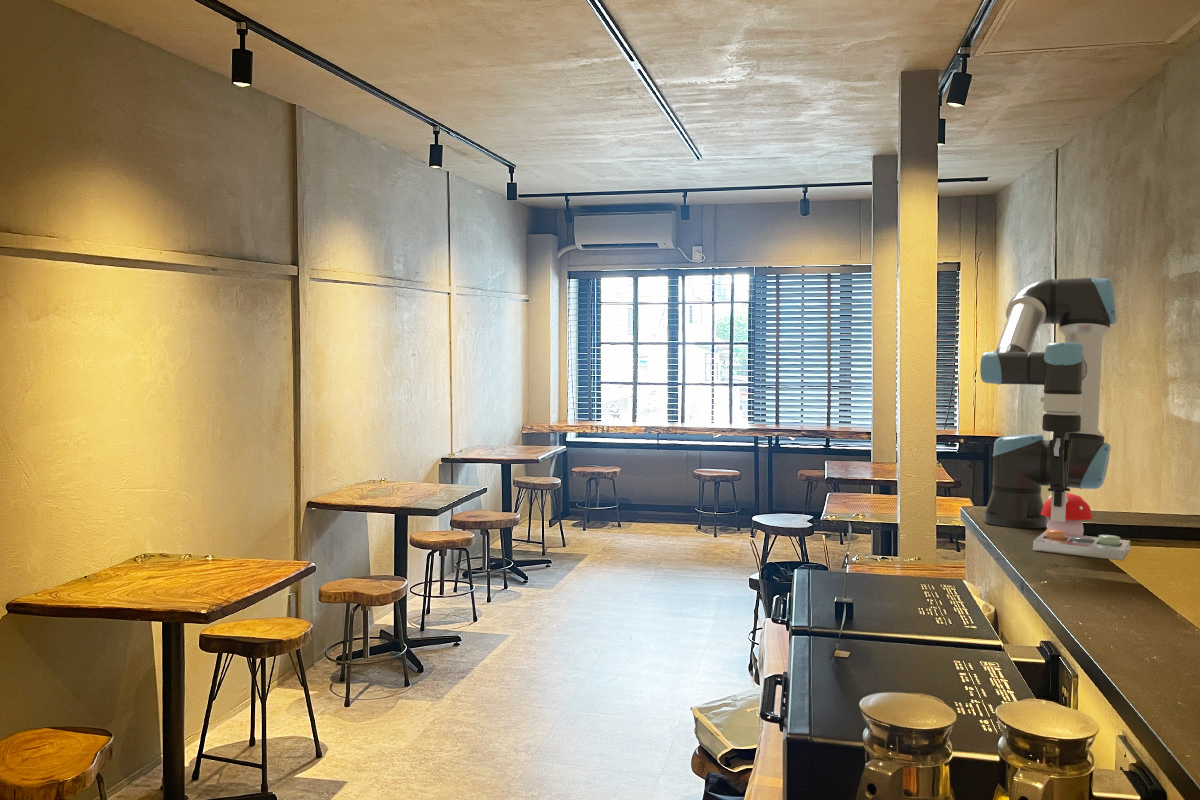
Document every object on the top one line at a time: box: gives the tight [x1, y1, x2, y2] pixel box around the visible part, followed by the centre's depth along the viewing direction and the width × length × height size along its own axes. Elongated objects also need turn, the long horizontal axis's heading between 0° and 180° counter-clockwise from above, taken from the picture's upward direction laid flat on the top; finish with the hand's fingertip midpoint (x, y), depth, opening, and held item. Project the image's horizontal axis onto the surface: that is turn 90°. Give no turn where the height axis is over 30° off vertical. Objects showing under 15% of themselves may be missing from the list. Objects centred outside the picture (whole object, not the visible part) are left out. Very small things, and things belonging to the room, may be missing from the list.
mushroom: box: [1041, 492, 1094, 536], centre depth 216 cm, size 11×11×12 cm
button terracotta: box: [1045, 528, 1066, 541], centre depth 204 cm, size 4×4×2 cm
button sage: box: [1098, 534, 1121, 547], centre depth 199 cm, size 4×4×2 cm
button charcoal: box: [1072, 536, 1093, 544], centre depth 202 cm, size 4×4×2 cm
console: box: [1032, 531, 1131, 562], centre depth 202 cm, size 14×17×4 cm
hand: (1057, 520), depth 204 cm, fingers closed
